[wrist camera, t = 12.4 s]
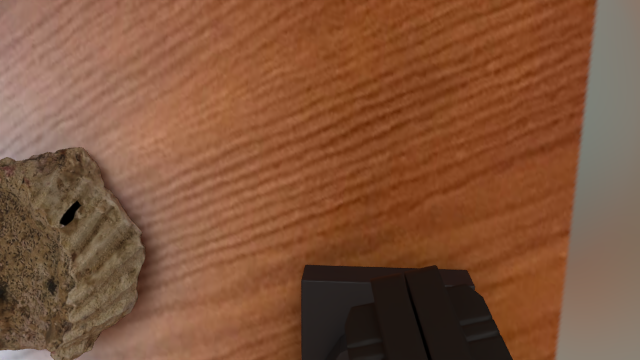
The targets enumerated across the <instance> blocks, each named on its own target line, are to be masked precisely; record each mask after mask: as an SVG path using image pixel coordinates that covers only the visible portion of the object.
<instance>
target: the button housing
mask: <svg viewBox="0 0 640 360" xmlns="http://www.w3.org/2000/svg"><path fill="white" fill-rule="evenodd" d="M410 270H415V269H414V268H383V267H351V266H320V265H306V266H305V269H304V273H303V277H302V281H301V323H302V360H349V356H348V348H347V342H346V335H345V328H344V325H345V323H346V320H347V317H348V314H349V312H350V309H351V307H354V306H359V305H364V304H369V303H374V297H373V293H372V288H371V283H370V279H372V278H377V277H382V276H387V275H391V274H396V273H402V276H403V279H404V272H405V271H410ZM438 270H439V272H440V275H441V277H442V280H443V282H444V285H445V287H451V286H455V285H460V284H465V283H466V284H467V285H468V286H470V287H471V288H472V289H473V290H474V291H475V286H474V284H473V282H472V280H471V278H470V275H469V273H468V271H467V270H445V269H438ZM404 282H405V279H404Z"/></svg>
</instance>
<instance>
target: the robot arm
mask: <svg viewBox="0 0 640 360" xmlns="http://www.w3.org/2000/svg"><path fill="white" fill-rule="evenodd" d="M404 279H405V282H404ZM404 279H403V276H402V273H396V274H391V275H387V276H382V277H377V278H372V279H370V283H371V288H372V293H373V297H374V303H369V304H364V305H359V306H354V307H351V309H350V312H349V314H348V317H347V320H346V323H345V325H344V328H345V335H346V342H347V348H348V356H349V360H513V359H512V357H511V355H510V353H509V351H508V349H507V347H506V345H505V342H504V340H503V338H502V336H501V335H500V333H499V330H498V328H497V326H496V324H495V322H494V320H493V319H492V315H491V313H490V311H489V309H488V307H487V305H486V303H485V301H484V299H483V297H482V296H481V295H479V294H478V293H477V292H476V291H474V290H473V289H472V288H471V287H470V286H468V285H467V284H466V283H465V284H460V285H455V286H451V287H445V285H444V282H443V280H442V277H441V275H440V272H439V270H438V268H437V266H436V265H434V266H429V267H424V268H420V269H415V270H410V271H405V272H404Z"/></svg>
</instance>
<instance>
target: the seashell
mask: <svg viewBox="0 0 640 360" xmlns="http://www.w3.org/2000/svg"><path fill="white" fill-rule="evenodd" d="M141 234H142V232H141V230H140V229H139V228H138V227H137V226H136V225H135V224H134V223H133V222H132V221H131V220H130V218H129V217H128V215H127V214H126V212H125V210H124V209H123V208H122V206H121V204H120V203H119V201H118V199H117V198H116V197H114V195H113V194H112V192H111V191H109V190H107V189H106V188H104V182H103V180H102V178H101V173H100V169H99V167H98V165H97V164H96V162H95V161H93V160H92V159H91V157H90V155H89V154H88V152H87V151H86V150H85V149H84V148H80V147H78V148H68V149H62V150H58V151H56V152H55V153H51V152H47V153H44V154H41V155H33V156H31V157H30V158H29V159H26V160H23V161H15V160H14V159H11V158H8V157H6V158H4V159H1V160H0V350H20V349H27V348H31V349H37V350H42V349H47V350H48V351H50V352H51V356H52V358H53V359H54V360H73V359H75V358H77V357H79V356H81V355H82V354H83V353H85V352H87V351H90V350H92V348H93V345H94V342H95V341H96V339H97V338H98V337H99V335H100V333H101V331H103V330H104V329H106V328H108V327H110V326H112V325H114V324H116V323H117V322H118V321H119V320H120V319H121V318H122V317H124V316H125V315H127V314H129V313H130V312H131V310H132V309H133V307H134V305H135V303H136V301H137V299H138V292H137V290H136V288H137V281H138V275H139V272H140V269H141V266H142V264H143V263H144V259H145V246H144V245H143V243H142V241H141V237H140V236H141Z"/></svg>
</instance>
